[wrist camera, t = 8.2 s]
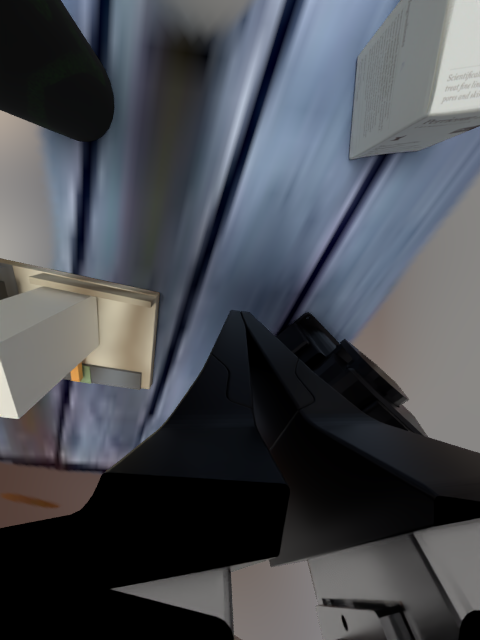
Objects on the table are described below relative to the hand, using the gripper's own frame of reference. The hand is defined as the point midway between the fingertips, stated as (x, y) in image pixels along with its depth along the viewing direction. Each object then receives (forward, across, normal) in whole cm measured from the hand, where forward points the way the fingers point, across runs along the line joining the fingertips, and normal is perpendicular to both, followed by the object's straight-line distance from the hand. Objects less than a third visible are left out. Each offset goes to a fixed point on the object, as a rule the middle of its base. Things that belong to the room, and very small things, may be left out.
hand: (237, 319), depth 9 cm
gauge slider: (+10, +14, +12) cm, 21 cm away
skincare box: (+14, -11, -12) cm, 21 cm away
